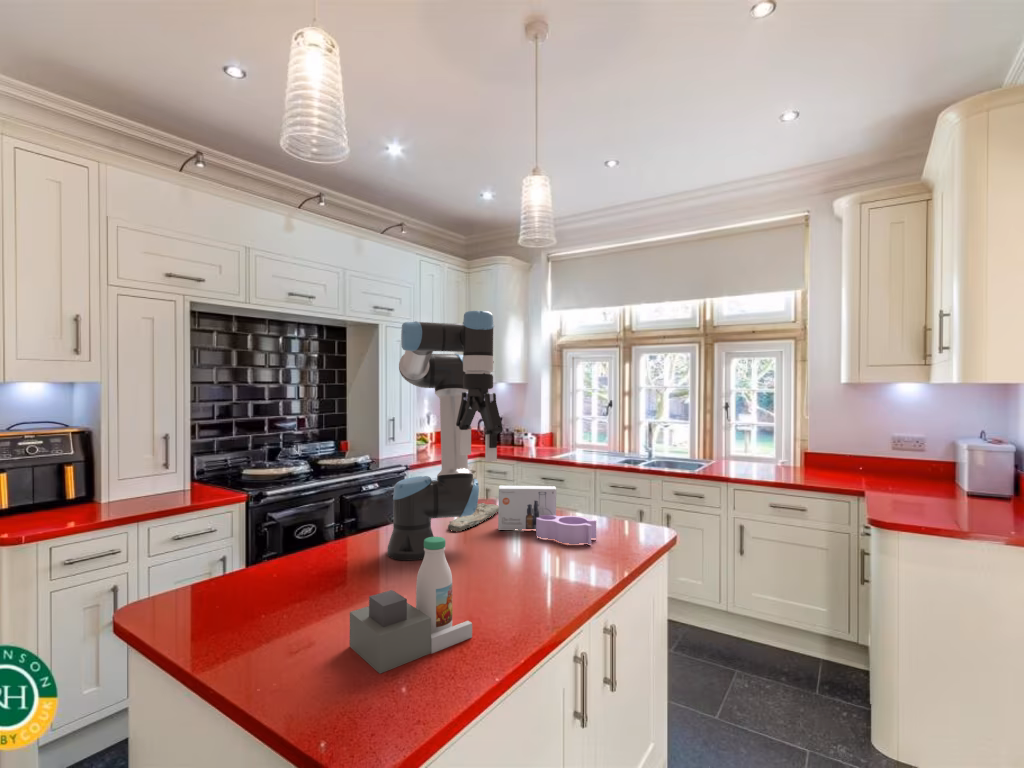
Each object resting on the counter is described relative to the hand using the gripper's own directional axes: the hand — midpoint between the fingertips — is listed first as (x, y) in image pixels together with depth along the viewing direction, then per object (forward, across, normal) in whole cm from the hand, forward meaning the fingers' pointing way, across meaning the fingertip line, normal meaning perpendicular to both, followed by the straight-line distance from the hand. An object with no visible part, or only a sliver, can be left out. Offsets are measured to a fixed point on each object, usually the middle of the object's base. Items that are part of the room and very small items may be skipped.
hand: (477, 458), depth 129 cm
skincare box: (+35, +43, -43) cm, 70 cm away
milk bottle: (+35, -12, +17) cm, 40 cm away
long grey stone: (+35, +64, -33) cm, 80 cm away
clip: (+35, +27, -48) cm, 66 cm away
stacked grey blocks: (+35, -13, +22) cm, 43 cm away
